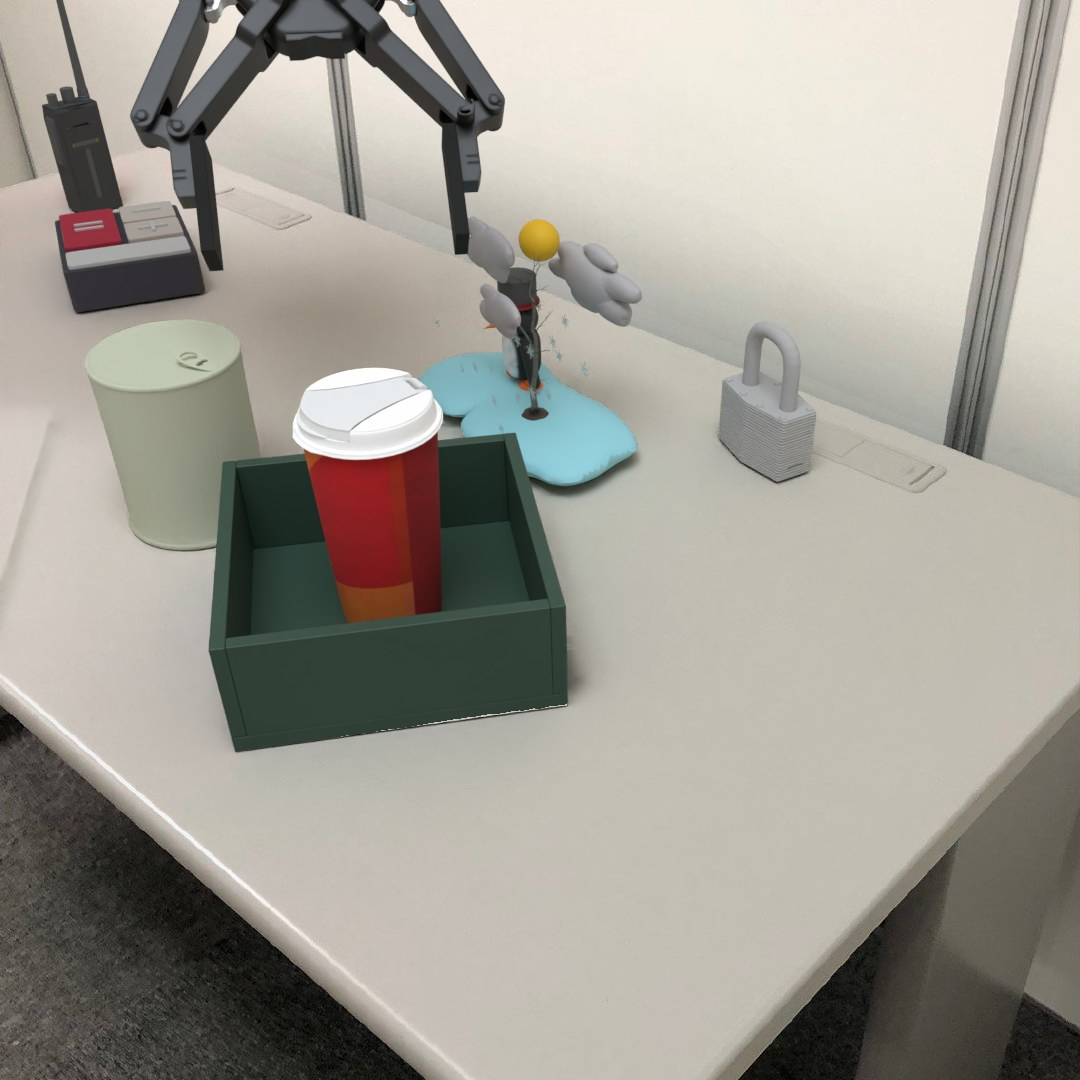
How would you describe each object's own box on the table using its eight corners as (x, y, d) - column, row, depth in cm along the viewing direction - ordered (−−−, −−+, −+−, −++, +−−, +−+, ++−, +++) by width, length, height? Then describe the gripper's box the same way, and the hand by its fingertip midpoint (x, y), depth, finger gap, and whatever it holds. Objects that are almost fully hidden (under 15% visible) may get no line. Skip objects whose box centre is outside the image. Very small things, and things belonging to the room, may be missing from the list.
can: (204, 567, 76) (161, 395, 68) (98, 525, 79) (46, 358, 72) (302, 496, 82) (272, 332, 74) (199, 460, 85) (161, 300, 78)
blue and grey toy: (401, 390, 93) (379, 195, 84) (522, 357, 98) (514, 167, 88) (528, 515, 80) (519, 300, 71) (661, 470, 85) (670, 262, 75)
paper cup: (419, 557, 75) (396, 349, 66) (484, 621, 70) (469, 406, 61) (302, 602, 71) (261, 389, 62) (362, 673, 66) (327, 453, 58)
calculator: (174, 195, 115) (196, 244, 104) (184, 240, 118) (206, 292, 107) (51, 211, 112) (60, 264, 101) (64, 257, 114) (74, 313, 103)
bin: (234, 752, 63) (207, 650, 59) (243, 556, 76) (222, 461, 72) (568, 706, 66) (566, 605, 62) (520, 525, 79) (515, 432, 75)
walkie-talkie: (109, 197, 125) (54, -17, 113) (125, 205, 123) (72, -11, 111) (65, 209, 122) (4, -8, 110) (81, 218, 121) (22, -2, 108)
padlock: (710, 441, 88) (719, 312, 82) (755, 426, 89) (767, 299, 83) (770, 487, 83) (784, 354, 77) (816, 471, 85) (834, 339, 79)
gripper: (510, -65, 75) (554, 264, 73) (87, -55, 71) (120, 294, 69) (520, -155, 68) (569, 209, 65) (48, -149, 63) (83, 239, 61)
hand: (339, 253), depth 67 cm, fingers open, 13 cm apart
